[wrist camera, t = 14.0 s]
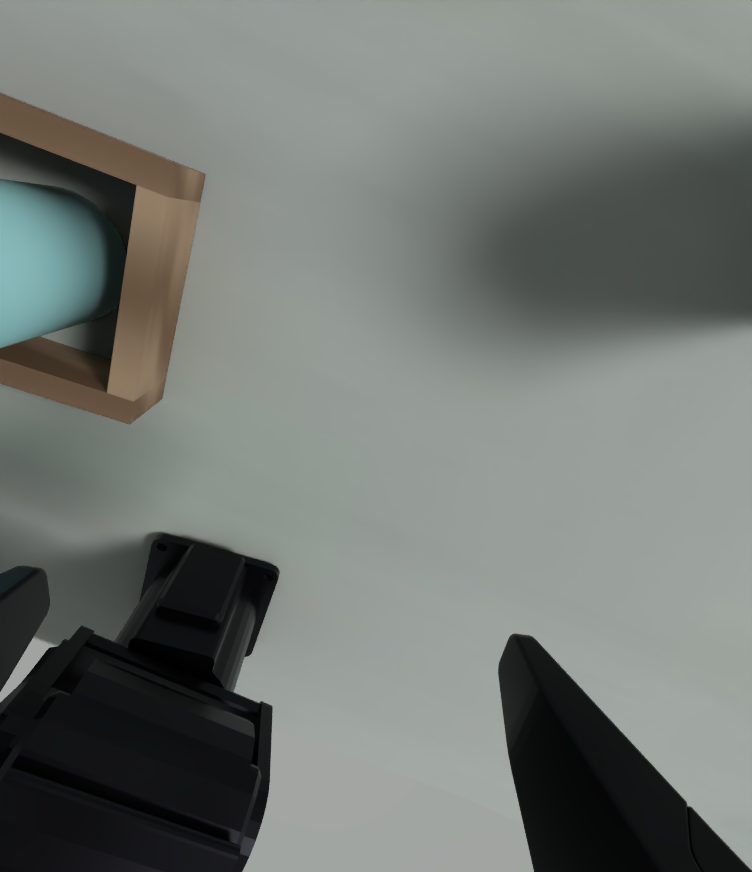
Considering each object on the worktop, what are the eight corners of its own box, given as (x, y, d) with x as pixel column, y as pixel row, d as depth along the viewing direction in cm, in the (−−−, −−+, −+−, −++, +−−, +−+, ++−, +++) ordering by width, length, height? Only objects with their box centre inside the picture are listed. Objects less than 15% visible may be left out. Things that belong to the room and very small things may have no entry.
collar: (161, 399, 21) (129, 424, 18) (-63, 325, 20) (-134, 341, 17) (205, 174, 17) (173, 163, 15) (-65, 66, 16) (-155, 33, 13)
